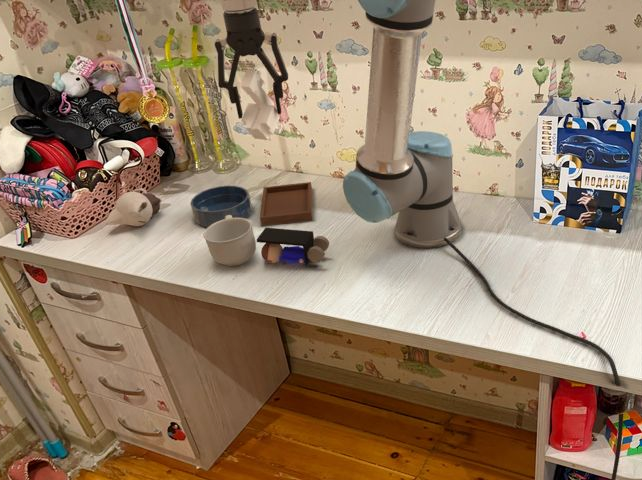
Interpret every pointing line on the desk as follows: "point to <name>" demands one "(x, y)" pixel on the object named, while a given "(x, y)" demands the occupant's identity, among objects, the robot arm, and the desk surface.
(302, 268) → the desk surface
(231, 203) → the bowl
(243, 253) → the teacup
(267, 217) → the tray
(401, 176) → the robot arm
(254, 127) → the beige irregular angular piece
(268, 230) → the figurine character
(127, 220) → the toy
